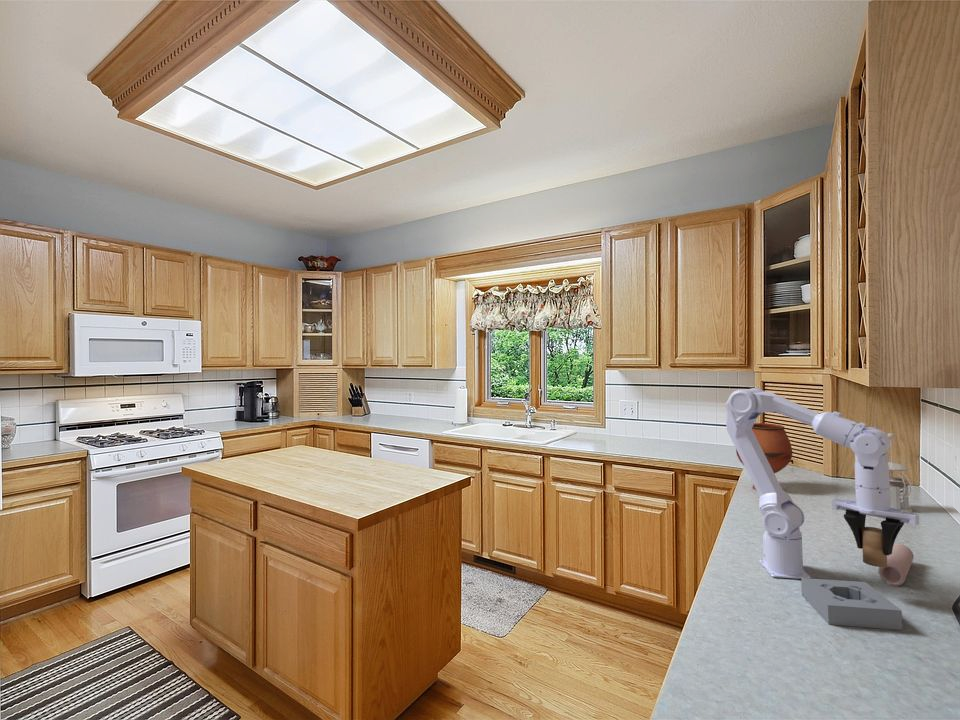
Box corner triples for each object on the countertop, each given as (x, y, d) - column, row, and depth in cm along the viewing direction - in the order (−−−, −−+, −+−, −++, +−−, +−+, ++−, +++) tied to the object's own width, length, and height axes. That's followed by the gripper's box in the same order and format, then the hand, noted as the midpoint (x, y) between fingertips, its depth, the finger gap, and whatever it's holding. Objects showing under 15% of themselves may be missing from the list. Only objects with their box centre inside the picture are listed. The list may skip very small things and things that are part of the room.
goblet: (743, 494, 184) (741, 427, 184) (732, 482, 202) (730, 421, 202) (801, 496, 178) (799, 428, 178) (785, 484, 196) (783, 422, 197)
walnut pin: (858, 558, 105) (857, 526, 105) (880, 560, 104) (879, 527, 105) (869, 566, 101) (868, 532, 101) (891, 567, 101) (890, 533, 101)
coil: (887, 541, 122) (875, 563, 110) (912, 544, 119) (902, 566, 106) (890, 560, 122) (879, 584, 109) (915, 564, 118) (906, 588, 106)
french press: (898, 504, 166) (895, 431, 166) (925, 515, 154) (922, 435, 155) (867, 504, 167) (864, 431, 167) (892, 514, 155) (889, 436, 156)
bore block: (801, 594, 104) (801, 578, 104) (866, 599, 102) (865, 582, 102) (828, 624, 93) (827, 605, 93) (902, 630, 90) (901, 610, 90)
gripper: (824, 482, 107) (826, 544, 107) (909, 496, 95) (911, 566, 95) (838, 477, 111) (840, 537, 111) (921, 490, 99) (924, 558, 99)
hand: (874, 550), depth 103 cm, fingers closed on walnut pin, 4 cm apart
